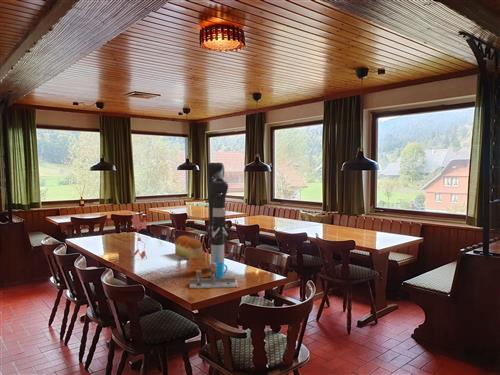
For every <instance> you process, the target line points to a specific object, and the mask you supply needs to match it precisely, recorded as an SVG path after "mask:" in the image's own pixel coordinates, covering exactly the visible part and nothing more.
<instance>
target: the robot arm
mask: <svg viewBox="0 0 500 375" xmlns="http://www.w3.org/2000/svg"><path fill="white" fill-rule="evenodd" d="M206 168H207V169H206V172H207V183H208V193H207V194H208V196H207V198H208V226H207V237H209V238H210V264H211V263H214V262H221V263H223V264H225V243H227V242H228V236H229V235H231V225H230V224H228V223H226V217H227V215H226V214H227V213H226V212H227V211H226V197H227V193H228V190H229V184H228V182H227V181H225V179H224V177H225V166H224V163H222V162H208V164H207V166H206ZM216 235H219V236H217V237H215V236H216ZM224 269H225V266H224V265H223V270H224Z"/></svg>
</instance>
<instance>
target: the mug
mask: <svg viewBox="0 0 500 375" xmlns="http://www.w3.org/2000/svg"><path fill="white" fill-rule="evenodd" d="M214 263H216V278H224V274H226V273H227V271H228V266H227V264H225V263H224V264H223V263H221V262H214ZM223 265H224V268H225V270H224V269H223Z"/></svg>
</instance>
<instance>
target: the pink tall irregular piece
mask: <svg viewBox="0 0 500 375" xmlns="http://www.w3.org/2000/svg"><path fill="white" fill-rule="evenodd" d="M130 220H131V222H132V224H131V225H130V228H131V227H133V229H134V230H135V229H136V230H137V231H136V232H137V242H136V246H137V250H135V252H134V254H133V256H132V257H133V258H134V257H135V256H137V255H139V256H140V258H141V259H142V260H143V259H144V258H146V259H147V258H148V256H147V255H146V254H147V253H146V251H145V250H143V251H142V252H140V249H139V246H138V244H139V242H141V243H143V244H144V245H143V246H144V247H143V249H145V247H146V244H145V242H144V241H142V239H141V237H139V231H140V230H142V229H144V230H146V228H147V225H148V222H147V220H145V219H144V221H143V222H141V221H140V216H139V214H138V213H137V214H136V213H133V215H132V218H131V219H130ZM126 261H129V262H130V260H129V259H126Z"/></svg>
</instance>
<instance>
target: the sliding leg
mask: <svg viewBox="0 0 500 375" xmlns="http://www.w3.org/2000/svg"><path fill="white" fill-rule="evenodd" d="M210 278H211V279H213V283H214V279H216V263H211V262H210Z"/></svg>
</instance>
